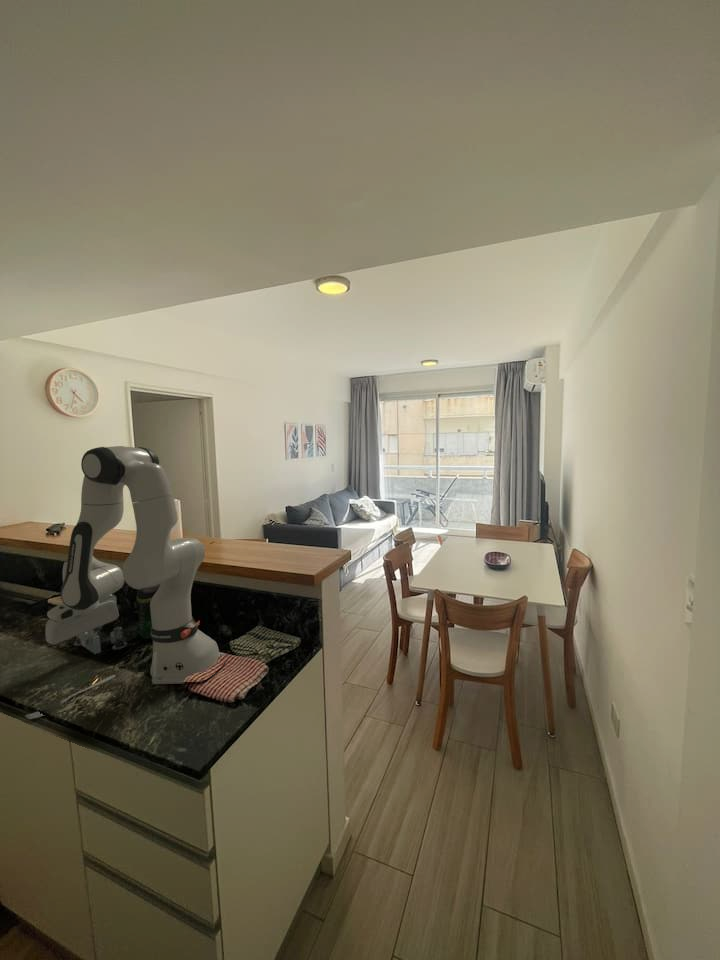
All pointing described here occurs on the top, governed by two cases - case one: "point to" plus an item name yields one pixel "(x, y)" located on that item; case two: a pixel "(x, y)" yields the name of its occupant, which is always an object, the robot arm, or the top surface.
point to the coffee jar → (146, 609)
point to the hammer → (118, 639)
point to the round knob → (77, 642)
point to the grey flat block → (93, 643)
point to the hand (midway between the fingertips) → (86, 643)
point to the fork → (71, 696)
